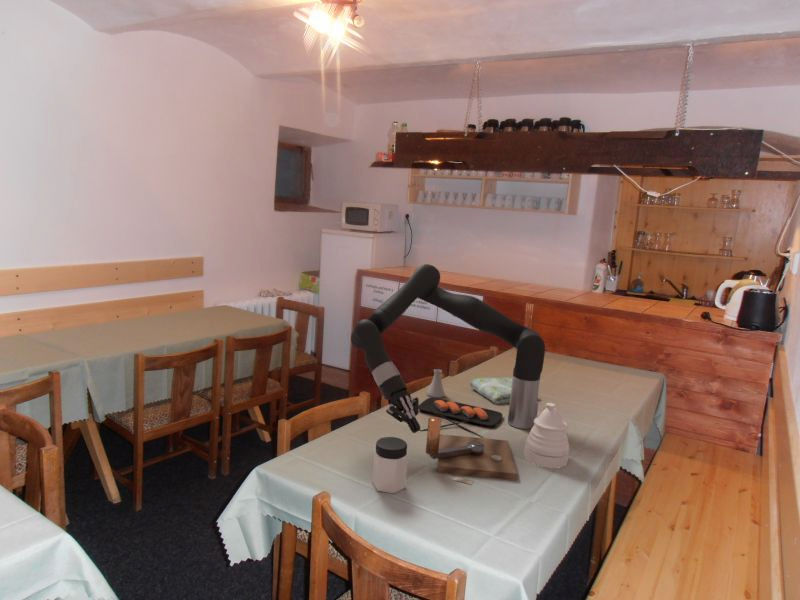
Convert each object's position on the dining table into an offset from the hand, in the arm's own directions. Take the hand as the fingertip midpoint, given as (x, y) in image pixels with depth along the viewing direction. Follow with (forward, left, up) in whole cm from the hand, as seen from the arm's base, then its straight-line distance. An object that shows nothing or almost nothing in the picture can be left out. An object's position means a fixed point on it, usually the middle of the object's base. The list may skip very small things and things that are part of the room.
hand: (417, 431), depth 168 cm
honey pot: (-40, -9, -9) cm, 42 cm away
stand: (-18, -1, -9) cm, 20 cm away
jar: (+6, +17, -9) cm, 20 cm away
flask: (-6, -57, -9) cm, 58 cm away
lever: (-12, 0, -6) cm, 13 cm away
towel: (-33, -65, -9) cm, 73 cm away
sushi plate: (-12, -32, -9) cm, 35 cm away
